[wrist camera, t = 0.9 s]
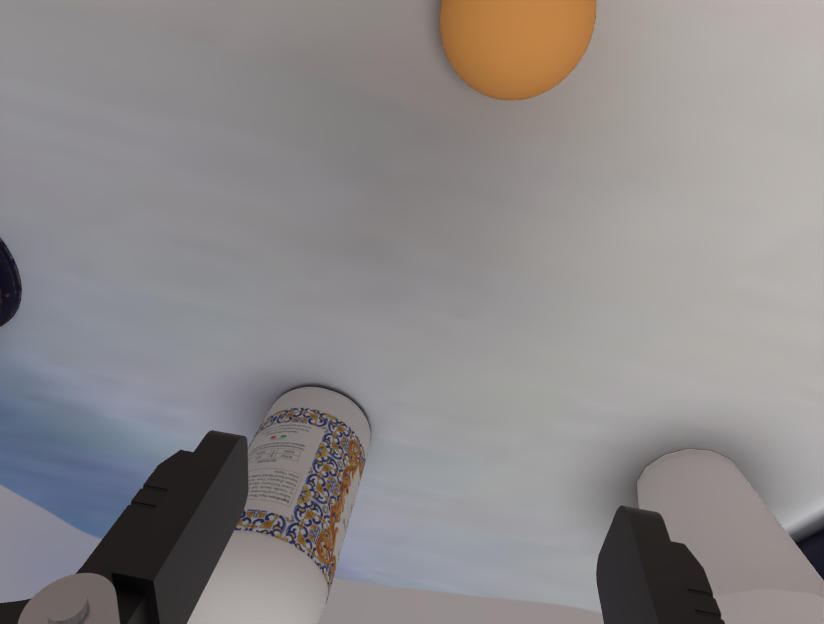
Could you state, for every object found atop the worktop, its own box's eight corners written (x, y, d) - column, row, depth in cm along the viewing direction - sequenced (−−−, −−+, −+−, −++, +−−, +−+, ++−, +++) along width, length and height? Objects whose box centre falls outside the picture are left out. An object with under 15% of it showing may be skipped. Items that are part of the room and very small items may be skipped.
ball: (455, -73, 23) (445, -95, 18) (600, -56, 23) (632, -75, 18) (437, 81, 26) (423, 100, 21) (565, 98, 26) (584, 121, 21)
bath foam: (358, 477, 39) (250, 855, 22) (262, 446, 39) (76, 804, 21) (385, 403, 36) (283, 780, 18) (280, 369, 36) (77, 718, 18)
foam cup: (582, 501, 38) (622, 714, 26) (672, 406, 33) (765, 612, 22) (702, 555, 39) (789, 783, 27) (804, 470, 34) (959, 699, 23)
